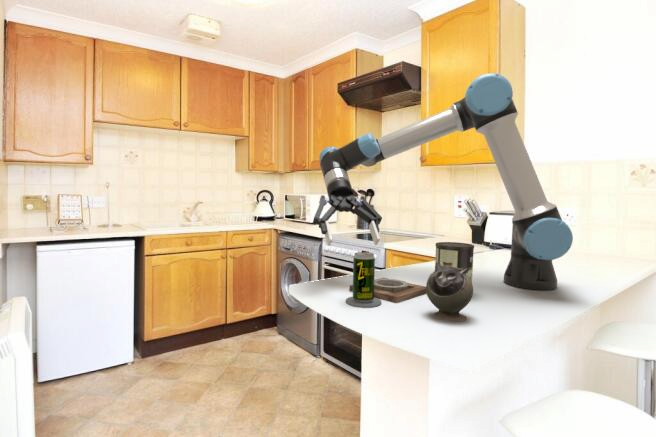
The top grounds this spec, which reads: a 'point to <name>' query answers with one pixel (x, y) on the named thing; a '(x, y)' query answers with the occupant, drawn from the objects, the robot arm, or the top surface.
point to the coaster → (374, 303)
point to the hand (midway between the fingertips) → (354, 242)
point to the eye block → (395, 290)
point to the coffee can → (455, 255)
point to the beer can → (363, 277)
